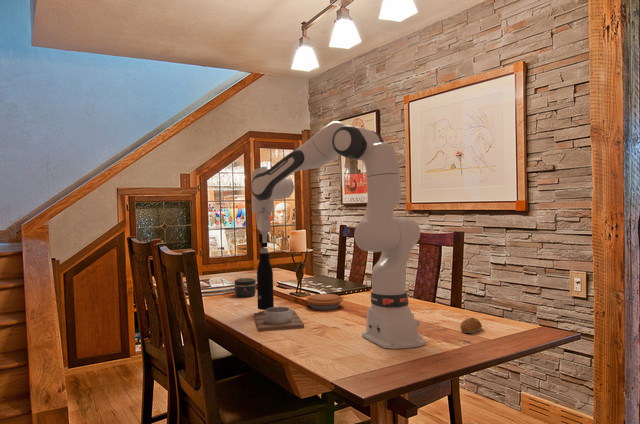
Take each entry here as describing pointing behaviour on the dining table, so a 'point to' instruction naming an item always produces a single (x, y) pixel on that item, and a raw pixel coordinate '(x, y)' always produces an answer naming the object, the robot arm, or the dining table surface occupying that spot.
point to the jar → (245, 287)
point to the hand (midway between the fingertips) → (264, 242)
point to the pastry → (470, 326)
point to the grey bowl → (278, 315)
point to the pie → (324, 301)
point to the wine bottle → (264, 278)
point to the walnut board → (266, 326)
